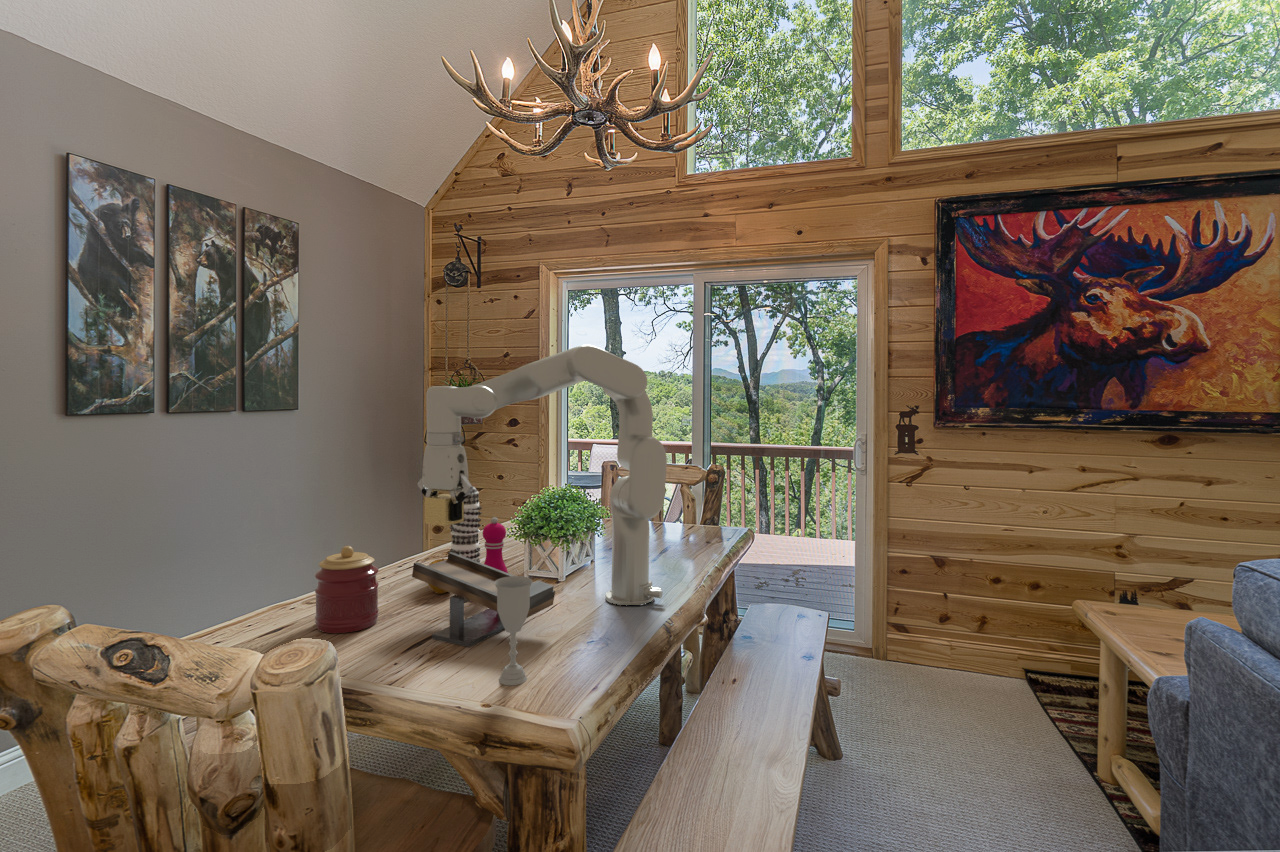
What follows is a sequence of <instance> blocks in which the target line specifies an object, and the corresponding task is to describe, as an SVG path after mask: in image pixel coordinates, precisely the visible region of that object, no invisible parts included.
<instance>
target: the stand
mask: <svg viewBox="0 0 1280 852" xmlns="http://www.w3.org/2000/svg"><path fill="white" fill-rule="evenodd" d="M501 631H505V628H504V626H503V624H502V622H501V620H500V617H499V614H498V612H496V611H494V610H492V609H489V608H487V609H485V610H483V611H481V612H479V613H476V614H474V615H472V616H469V617H467V618H465V603H464V597H463V596H458V595H455V594H453V595H451V596H449V625H448V626H447V627H445V628H443V629H440V630H438V631H436V632H434V633H432V634H431V639H432V640H436V641H439V642H443V643H448V644H454V645H456V646H457V645H458V646H462V647H466V648H470V647H472V646H475V645H476V644H479V643H480V642H483V641H484V640H486V639H488V638H490V637H492V636H494V635H496V634H498V633H501Z"/></svg>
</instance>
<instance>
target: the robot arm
mask: <svg viewBox="0 0 1280 852" xmlns="http://www.w3.org/2000/svg"><path fill="white" fill-rule="evenodd" d="M586 381H587V382H589V383H591V384H593V385H595V386H597V387H599V388H601V389H602V390H603V392H604V394H606V396H608V397H610V398H611V400H612V401H614V403H615V405H616V407H617V409H618V413H619V414H618V415H619V421H618V422H619V426H618V440H617V452H616V453H617V454H616V455H617V462H618V464H619V465H620V466H621V467H622V468H624V469H625V470H627V471H629V473H628V475H626V476H622V477H620V478H619V479H617V480H616V481H615V482H614V484H613V485H612V486H611V487H612V488H611V490H610V494H609V498H610V499H609V500H610V501H609V503H610V511H611V521H612V524H611V525H612V526H611V527H612V532H611V533H612V534H611V535H612V538H611V589H610V590H608V591H606V593H605V594H604V595H605V600H606V601H607V602H609V603H610V604H612V603H613V605H616V604H617V606H621V605H626V606H625V607H628V606H627V605H640V606H642V605H641V604H645V603H648V602H651V601H652V600H653V599H654V600H655V598H656V599H662V597H663V590H662V588H660V587H654V586H653V581H652V580H649V579H650V577H649V575H650V571H649V570H650V568H649V567H650V566H649V565H650V521H649V520H652V519H653V518H655V517H656V516H658V515H659V514H660V511H661V510H662V508H663V505H664V502H665V501H664V500H665V494H666V484H667V483H666V480H667V465H668V455H667V453H666V450H665V447H664V444H662V442H661V441H660V440H658V439H657V438H656V437H653V407H652V403H651V399H650V397H649V395H648V394H647V391H646V389H647V387H648V377H647V374H646V372H645V371H644V370H643V368H642V367H641V366H639V365H638V364H635V363H634V362H632V361H629V360H627V359H624V358H623V357H620V356H618V355H615V354H614V353H611V352H609V351H607V350H604V349H602V348H600V347H597V346H596V345H593V344H592V345H591V344H583V345H580V346H575V347H572V348H569V349H566V350H564V351H561V352H558V353H555V354H552V355H550V356H547V357H544V358H542V359H541V358H540V359H539V360H536V361H533V362H529V363H527V364H524V365H522V366H520V367H517V368H516V369H513V370H510V371H509V372H507V373H504V374H501V375H498V376H496V377H493V378H489V379H487V380H484V381H482V382H479V383H475V384H473V385H470V386H463V387H458V386H455V385H454V386H451V385H450V386H449V385H433V386H430V387H428V388H427V391H426V446H425V448H424V452H423V453H424V454H423V460H422V477H421V478H420V479H419V481H418V482H417V487H418V489H420V491H421V493H422V495H423V496H424V498H425V497H429V496H434V495H440V494H439V493H440V491H443V492H449V494H450V496H451V499H452V502H453V503H451V505H450V519H451V521H457V520H461V519H462V502H464V501H465V498H466V497H467V496H468V494H469V493H470V492H471V491H472V489H473V487H474V486H473V485H472V483H471V482H470V481H469V468H468V466H469V465H468V458H467V453H466V450H465V449H466V448H465V446H463V445H462V443H463V442H464V441H465V438H464V436H462V417H465V418H473V419H484V418H485V419H486V418H487V417H489V416H491V415H492V414H493V413H494V412H495V411H496V410H498V409H501V408H504V407H507V406H509V405H513V404H516V403H520V402H525V401H532V400H537V399H539V398H543V397H545V396H548V395H550V394H553V393H555V392H559V391H561V390H564V389H566V388H569V387H571V386H574V385H577V384H579V383H582V382H586ZM462 489H463V490H462ZM456 492H457V496H456ZM654 600H653V601H654ZM653 601H652V602H653ZM652 602H651V603H652ZM645 605H646V604H645Z"/></svg>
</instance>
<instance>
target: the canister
mask: <svg viewBox="0 0 1280 852" xmlns="http://www.w3.org/2000/svg"><path fill="white" fill-rule="evenodd" d="M374 562H375V558H374V557H372V556H370V555H369V554H368V553H366V552H360V551H357V552H356V551H354V548H353V547H352V546H351V545H345V546H343V547H342V548H341V550H340V553H335V554H331V555H328V556H326V558H325V559H323V560H322V561H320V562H319V563H318V567H320V569H319V570H318V571H317V572H315V574H314V578H315V579H316V580H317V585H316V587H315V589H314V593H315V617H314V619H315V620H314V623H315V625H316V629H317V630H318V629H319V630H321V631H320V632H322V631H323V632H322V633H325V632H326V634H345V633H347V632H348V633H353V631H354V632H358V631H363V630H364V629H368V628H370V627H372V626H374V625H375V624H376V623H378V618H379V616H380V615H379V612H380V610H379V598H378V597H379V595H378V593H379V590H378V589H379V582H378V581H377V574H378V573H379V571H380V570H379V568H378V566H375V565H374ZM319 630H318V631H319ZM348 633H347V634H348Z"/></svg>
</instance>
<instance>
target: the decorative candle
mask: <svg viewBox="0 0 1280 852" xmlns="http://www.w3.org/2000/svg"><path fill="white" fill-rule="evenodd" d="M462 490H463V489H462ZM479 493H480V491H478V489H477V488H476V487H475V486H473V489H472V491H471V492H470V493H469V494H468V496H467V497H466V498H465V501H464V521H463V522H460V523H456V524H452V525H449V529H450V534H451V545H450V547H451V548H450V550H449V552H453V553H455V554H458V555H461V556H463V557H466V558H469V559H471V560H474V561H477V562H479V563H481V559H480V556H481V553H480V550H481V547H480V541H479V537H480V536H479V534H480V533H481V530H480V529H479V528H480V527H481V526H482V525H481V524H480V522H481V521H482V519H481V518H480V517H479V516H481V515H482V512H481V510H482V509H483V507H482V506H481V505H480V501H479V499H480V498H479V497H480V496H479ZM456 495H457V492H456Z"/></svg>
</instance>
